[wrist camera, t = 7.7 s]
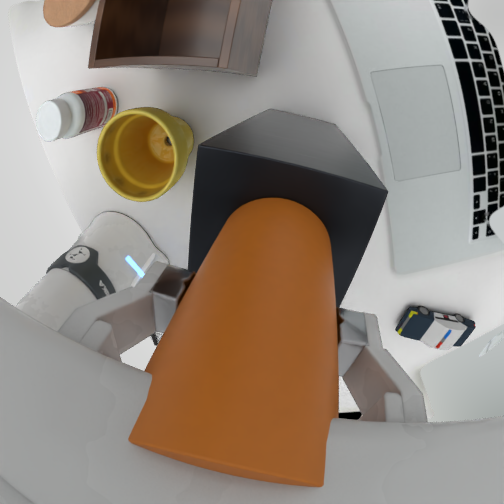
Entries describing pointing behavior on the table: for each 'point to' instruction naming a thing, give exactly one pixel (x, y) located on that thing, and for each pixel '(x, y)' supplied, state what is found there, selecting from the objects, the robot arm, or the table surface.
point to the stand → (288, 184)
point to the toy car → (435, 328)
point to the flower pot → (143, 152)
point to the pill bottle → (75, 113)
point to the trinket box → (70, 12)
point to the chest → (180, 34)
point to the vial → (251, 353)
